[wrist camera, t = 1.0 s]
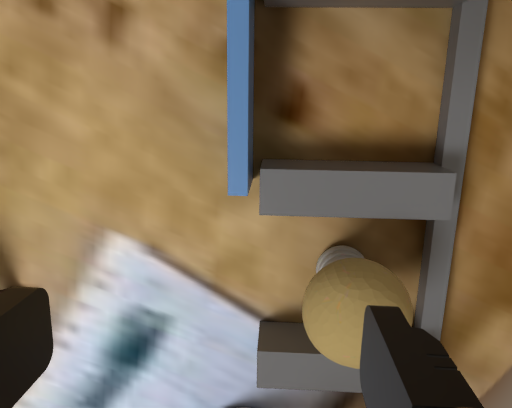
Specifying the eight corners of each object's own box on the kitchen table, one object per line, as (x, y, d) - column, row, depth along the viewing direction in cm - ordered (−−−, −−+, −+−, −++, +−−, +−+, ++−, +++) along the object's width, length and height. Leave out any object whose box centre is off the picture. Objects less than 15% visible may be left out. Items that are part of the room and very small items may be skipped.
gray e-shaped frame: (236, -44, 27) (226, -74, 22) (483, -45, 26) (530, -76, 21) (236, 353, 34) (228, 396, 30) (428, 361, 34) (453, 407, 29)
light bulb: (397, 243, 31) (449, 311, 22) (361, 315, 33) (394, 407, 23) (317, 212, 31) (334, 267, 21) (285, 286, 33) (286, 368, 23)
